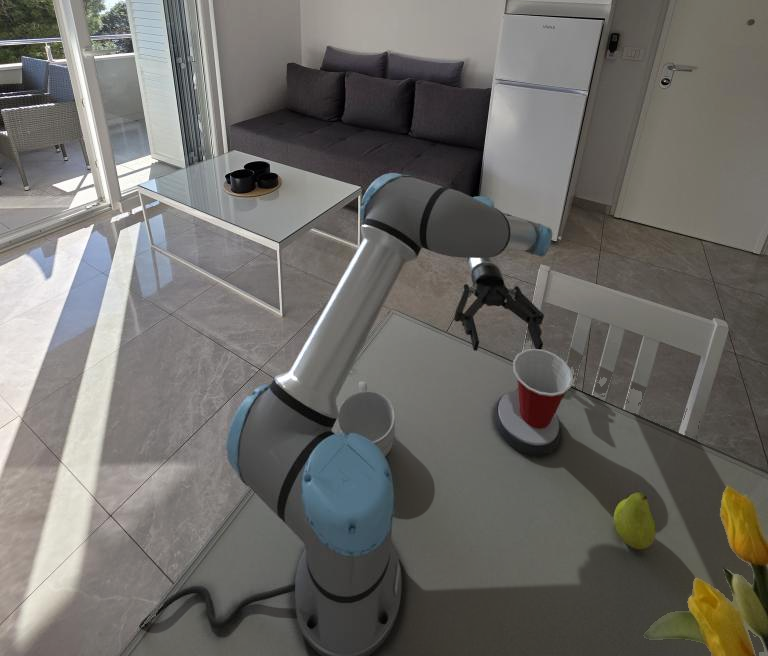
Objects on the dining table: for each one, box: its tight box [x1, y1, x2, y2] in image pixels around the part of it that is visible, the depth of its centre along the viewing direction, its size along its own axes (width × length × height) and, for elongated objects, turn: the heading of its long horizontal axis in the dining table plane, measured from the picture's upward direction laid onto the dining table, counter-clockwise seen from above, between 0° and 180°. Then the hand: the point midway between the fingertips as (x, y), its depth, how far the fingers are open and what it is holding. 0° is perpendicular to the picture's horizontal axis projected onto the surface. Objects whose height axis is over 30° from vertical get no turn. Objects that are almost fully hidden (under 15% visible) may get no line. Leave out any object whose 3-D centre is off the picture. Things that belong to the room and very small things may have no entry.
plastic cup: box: [512, 348, 574, 429], centre depth 84 cm, size 11×11×12 cm
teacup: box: [336, 381, 396, 458], centre depth 82 cm, size 14×11×8 cm
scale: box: [494, 389, 562, 457], centre depth 86 cm, size 12×12×3 cm
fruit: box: [613, 492, 656, 550], centre depth 67 cm, size 6×6×12 cm
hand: (508, 347), depth 90 cm, fingers open, 13 cm apart
